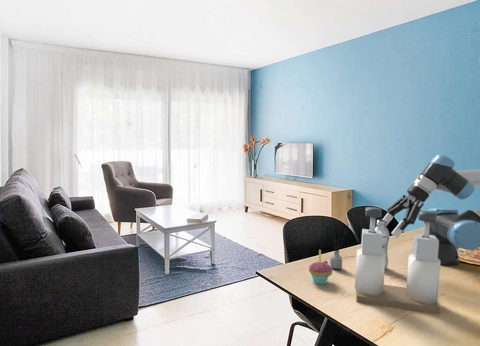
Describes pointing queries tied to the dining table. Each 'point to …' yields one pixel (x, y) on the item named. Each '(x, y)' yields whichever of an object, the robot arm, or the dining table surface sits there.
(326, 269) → the cupcake
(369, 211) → the plunger
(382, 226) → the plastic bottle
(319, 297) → the dining table surface
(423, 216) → the plunger
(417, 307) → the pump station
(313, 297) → the dining table surface
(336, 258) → the reed diffuser
